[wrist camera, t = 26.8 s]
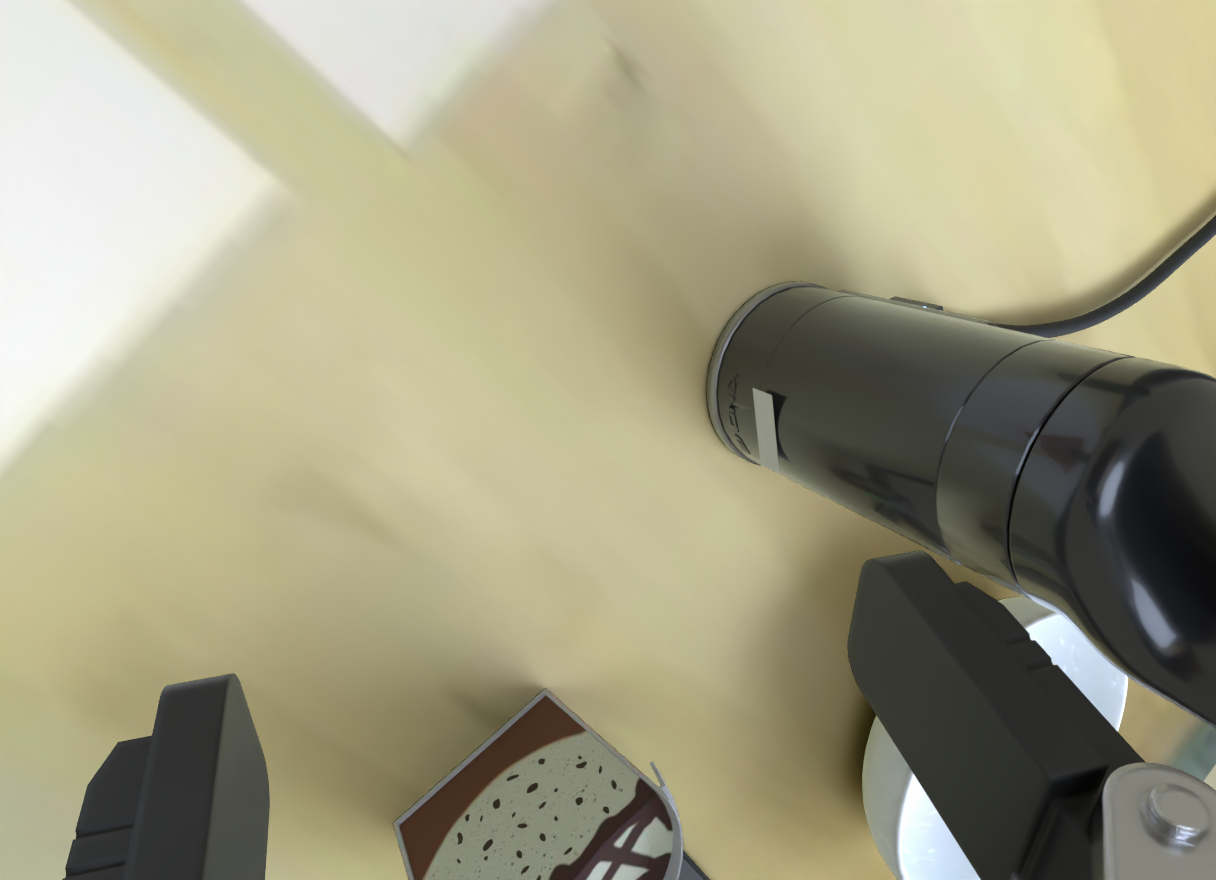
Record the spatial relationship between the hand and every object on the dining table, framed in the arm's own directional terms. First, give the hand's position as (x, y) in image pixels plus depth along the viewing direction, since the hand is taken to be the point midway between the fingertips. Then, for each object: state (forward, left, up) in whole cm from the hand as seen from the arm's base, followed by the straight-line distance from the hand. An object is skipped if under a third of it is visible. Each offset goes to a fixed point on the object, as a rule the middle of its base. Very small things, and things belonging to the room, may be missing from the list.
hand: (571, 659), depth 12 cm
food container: (-3, +26, -26) cm, 37 cm away
